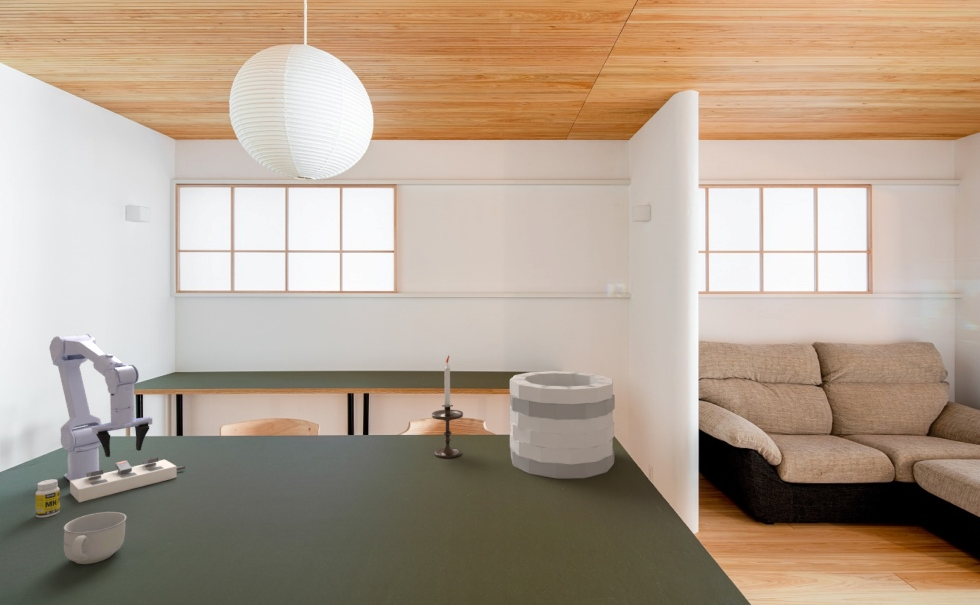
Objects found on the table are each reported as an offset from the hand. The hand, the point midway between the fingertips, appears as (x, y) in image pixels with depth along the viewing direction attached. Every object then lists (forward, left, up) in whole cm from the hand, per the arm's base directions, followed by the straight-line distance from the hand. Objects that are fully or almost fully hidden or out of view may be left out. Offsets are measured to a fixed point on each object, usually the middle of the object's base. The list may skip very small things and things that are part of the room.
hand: (123, 453), depth 151 cm
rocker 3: (-2, +8, -5) cm, 9 cm away
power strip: (-1, +3, -10) cm, 10 cm away
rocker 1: (-2, -6, -5) cm, 8 cm away
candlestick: (+53, +82, -10) cm, 98 cm away
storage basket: (+87, +102, -10) cm, 134 cm away
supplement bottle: (+7, -18, -10) cm, 22 cm away
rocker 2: (-2, +1, -5) cm, 5 cm away
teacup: (+44, -17, -10) cm, 49 cm away
